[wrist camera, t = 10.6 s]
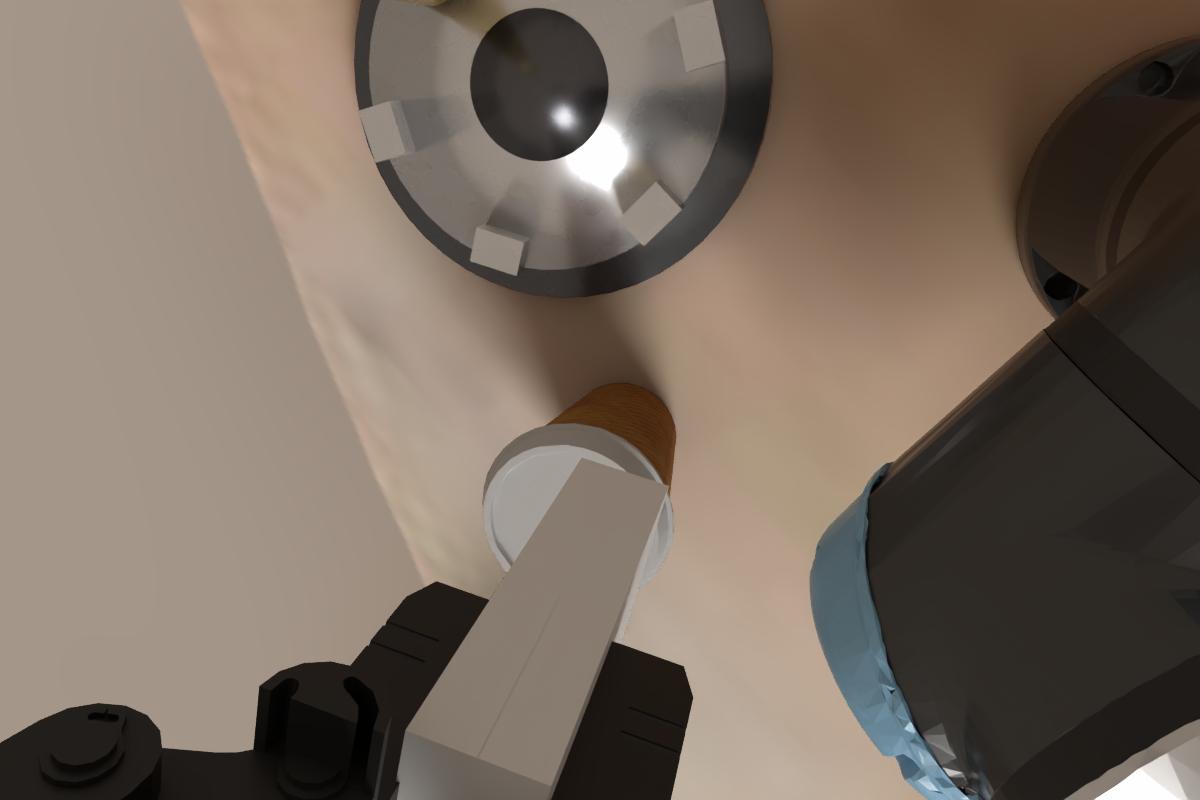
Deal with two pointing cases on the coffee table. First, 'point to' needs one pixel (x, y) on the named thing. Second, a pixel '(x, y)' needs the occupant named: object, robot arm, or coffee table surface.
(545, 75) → the lugged metal disc
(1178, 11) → the coffee table surface
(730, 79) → the base plate
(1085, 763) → the robot arm
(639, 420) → the disposable coffee cup
